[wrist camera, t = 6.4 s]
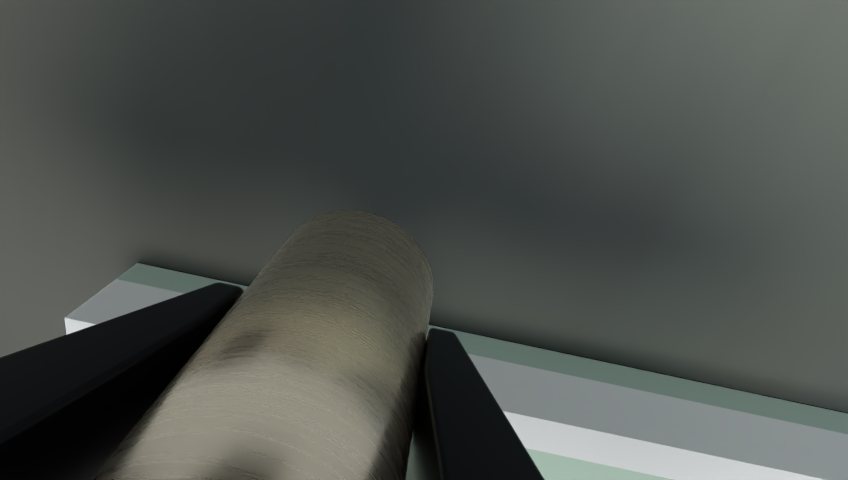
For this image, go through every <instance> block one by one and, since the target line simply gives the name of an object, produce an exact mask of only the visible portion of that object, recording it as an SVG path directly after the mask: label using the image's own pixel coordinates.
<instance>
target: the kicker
mask: <svg viewBox="0 0 848 480" xmlns="http://www.w3.org/2000/svg"><path fill="white" fill-rule="evenodd" d="M433 292H434V291H433V276H432V271H431V268H430V265H429V262H428V260H427V258H426V256H425V254H424V252H423V251H422V249H421V248H420V246H419V245H418V244H417V243H416V241H415V240H414V239H413V238H412V237H411V236H410V235H409V234H408V233H407V232H406V231H404V230H403V229H402V228H400V227H399V226H398V225H396V224H394V223H393V222H391V221H389V220H387V219H385V218H382V217H380V216H378V215H375V214H371V213H367V212H362V211H355V210H341V211H332V212H328V213H324V214H321V215H318V216H316V217H313V218H311V219H310V220H308V221H306V222H304V223H303V224H302V225H300V226H299V227H298V228H297V229H296V230H295V231H294V232H293V233H292V234H291V235H290V236H289V237H288V239H287V240H286V241H285V242H284V243H283V245H282V246H281V247H280V248H279V250H278V251H277V252H276V253H275V255H274V256H273V257H272V258H271V259H270V261H269V262H268V263H267V264H266V266H265V267H264V268H263V269H262V270H261V272H260V273H259V274H258V275H257V277H256V278H255V279H254V280H253V281H252V283H251V284H250V285H249V286H248V288H247V289H246V290H245V291H244V293H243V294H242V295H241V296H240V297H239V299H238V300H237V301H236V302H235V304H234V305H233V306H232V307H231V308H230V310H229V311H228V312H227V313H226V315H225V316H224V317H223V318H222V319H221V321H220V322H219V323H218V324H217V326H216V327H215V328H214V329H213V331H212V332H211V333H210V334H209V335H208V337H207V338H206V339H205V340H204V342H203V343H202V344H201V345H200V346H199V348H198V349H197V350H196V351H195V353H194V354H193V355H192V356H191V358H190V359H189V360H188V361H187V362H186V364H185V365H184V366H183V367H182V369H181V370H180V371H179V372H178V373H177V375H176V376H175V377H174V378H173V380H172V381H171V382H170V383H169V384H168V386H167V387H166V388H165V389H164V391H163V392H162V393H161V394H160V396H159V397H158V398H157V399H156V400H155V402H154V403H153V404H152V405H151V407H150V408H149V409H148V410H147V411H146V413H145V414H144V415H143V416H142V418H141V419H140V420H139V421H138V422H137V424H136V425H135V426H134V427H133V429H132V430H131V431H130V432H129V434H128V435H127V436H126V437H125V438H124V440H123V441H122V442H121V443H120V445H119V446H118V447H117V448H116V449H115V451H114V452H113V453H112V454H111V456H110V457H109V458H108V459H107V460H106V462H105V463H104V464H103V465H102V467H101V468H100V469H99V470H98V472H97V473H96V474H95V475H94V476H93V478H92V479H91V480H405V479H406V473H407V466H408V459H409V453H410V446H411V439H412V433H413V426H414V419H415V412H416V406H417V399H418V391H419V385H420V378H421V372H422V365H423V358H424V352H425V345H426V339H427V332H428V325H429V319H430V312H431V305H432V299H433Z"/></svg>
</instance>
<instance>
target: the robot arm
mask: <svg viewBox="0 0 848 480" xmlns="http://www.w3.org/2000/svg"><path fill="white" fill-rule="evenodd" d="M243 293H244V290H243V289H242V288H241V287H239V286H235V285H230V284H226V283H221V282H217V283H214V284H211V285H208V286H205V287H202V288H199V289H197V290H194V291H191V292H188V293H185V294H182V295H179V296H176V297H173V298H171V299H168V300H165V301H162V302H159V303H156V304H153V305H150V306H148V307H145V308H142V309H139V310H136V311H133V312H130V313H127V314H125V315H122V316H119V317H116V318H113V319H110V320H107V321H104V322H101V323H99V324H96V325H93V326H90V327H87V328H84V329H81V330H78V331H76V332H73V333H70V334H67V335H64V336H61V337H58V338H55V339H52V340H50V341H47V342H44V343H41V344H38V345H35V346H32V347H29V348H27V349H24V350H21V351H18V352H15V353H12V354H9V355H6V356H3V357H1V358H0V480H91V479H92V478H93V476H94V475H95V474H96V473H97V472H98V470H99V469H100V468H101V467H102V465H103V464H104V463H105V462H106V460H107V459H108V458H109V457H110V456H111V454H112V453H113V452H114V451H115V449H116V448H117V447H118V446H119V445H120V443H121V442H122V441H123V440H124V438H125V437H126V436H127V435H128V434H129V432H130V431H131V430H132V429H133V427H134V426H135V425H136V424H137V422H138V421H139V420H140V419H141V418H142V416H143V415H144V414H145V413H146V411H147V410H148V409H149V408H150V407H151V405H152V404H153V403H154V402H155V400H156V399H157V398H158V397H159V396H160V394H161V393H162V392H163V391H164V389H165V388H166V387H167V386H168V384H169V383H170V382H171V381H172V380H173V378H174V377H175V376H176V375H177V373H178V372H179V371H180V370H181V369H182V367H183V366H184V365H185V364H186V362H187V361H188V360H189V359H190V358H191V356H192V355H193V354H194V353H195V351H196V350H197V349H198V348H199V346H200V345H201V344H202V343H203V342H204V340H205V339H206V338H207V337H208V335H209V334H210V333H211V332H212V331H213V329H214V328H215V327H216V326H217V324H218V323H219V322H220V321H221V319H222V318H223V317H224V316H225V315H226V313H227V312H228V311H229V310H230V308H231V307H232V306H233V305H234V304H235V302H236V301H237V300H238V299H239V297H240V296H241V295H242V294H243ZM405 480H545V479H544V478H543V476H542V475H541V473H540V471H539V470H538V468H537V466H536V465H535V463H534V461H533V460H532V458H531V457H530V455H529V453H528V452H527V450H526V448H525V447H524V445H523V443H522V442H521V440H520V439H519V437H518V435H517V434H516V432H515V430H514V429H513V427H512V425H511V424H510V422H509V421H508V419H507V417H506V416H505V414H504V412H503V411H502V409H501V407H500V406H499V404H498V403H497V401H496V399H495V398H494V396H493V394H492V393H491V391H490V390H489V388H488V386H487V385H486V383H485V381H484V380H483V378H482V376H481V375H480V373H479V372H478V370H477V368H476V367H475V365H474V363H473V362H472V360H471V358H470V357H469V355H468V354H467V352H466V350H465V349H464V347H463V345H462V344H461V342H460V340H459V339H458V337H457V336H456V334H455V333H454V332H451V331H447V330H442V329H437V328H431V329H430V330H429V332H428V335H427V339H426V345H425V352H424V358H423V365H422V372H421V378H420V385H419V391H418V399H417V406H416V412H415V419H414V426H413V433H412V439H411V446H410V453H409V459H408V466H407V473H406V479H405Z"/></svg>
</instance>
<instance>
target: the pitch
mask: <svg viewBox="0 0 848 480" xmlns="http://www.w3.org/2000/svg"><path fill="white" fill-rule="evenodd" d="M217 282H221V283H226V284H230V285H235V286H239V287H241V288H242V289H243V290H244V291H245V290H246V289H247V288H248V286H243V285H239V284H234V283H229V282H225V281H220V280H215V279H210V278H206V277H201V276H196V275H192V274H187V273H182V272H177V271H173V270H168V269H163V268H159V267H154V266H149V265H144V264H140V263H136V264H135V265H134V266H132V267H131V268H130V269H128V270H127V271H126V272H124V273H123V274H122V275H120V276H119V277H118V278H116V279H115V280H114V281H112V282H111V283H110V284H108V285H107V286H106V287H104V288H103V289H102V290H100V291H99V292H98V293H97V294H95V295H94V296H93V297H91V298H90V299H89V300H87V301H86V302H85V303H83V304H82V305H81V306H79V307H78V308H77V309H75V310H74V311H73V312H71V313H70V314H69V315H67V316H66V317H65V326H66V335H67V334H70V333H73V332H76V331H78V330H81V329H84V328H87V327H90V326H93V325H96V324H99V323H101V322H104V321H107V320H110V319H113V318H116V317H119V316H122V315H125V314H127V313H130V312H133V311H136V310H139V309H142V308H145V307H148V306H150V305H153V304H156V303H159V302H162V301H165V300H168V299H171V298H173V297H176V296H179V295H182V294H185V293H188V292H191V291H194V290H197V289H199V288H202V287H205V286H208V285H211V284H214V283H217ZM431 328H437V329H442V330H447V331H451V332H454V333H455V334H456V336H457V337H458V339H459V340H460V342H461V344H462V345H463V347H464V349H465V350H466V352H467V354H468V355H469V357H470V358H471V360H472V362H473V363H474V365H475V367H476V368H477V370H478V372H479V373H480V375H481V376H482V378H483V380H484V381H485V383H486V385H487V386H488V388H489V390H490V391H491V393H492V394H493V396H494V398H495V399H496V401H497V403H498V404H499V406H500V407H501V409H502V411H503V412H504V414H505V416H506V417H507V419H508V421H509V422H510V424H511V425H512V427H513V429H514V430H515V432H516V434H517V435H518V437H519V439H520V440H521V442H522V443H523V445H524V447H525V448H526V450H527V452H528V453H529V455H530V457H531V458H532V460H533V461H534V463H535V465H536V466H537V468H538V470H539V471H540V473H541V475H542V476H543V478H544V479H545V480H848V414H847V413H842V412H838V411H833V410H828V409H823V408H819V407H814V406H809V405H805V404H800V403H795V402H790V401H786V400H781V399H776V398H772V397H767V396H762V395H757V394H753V393H748V392H743V391H739V390H734V389H729V388H724V387H720V386H715V385H710V384H706V383H701V382H696V381H691V380H687V379H682V378H677V377H673V376H668V375H663V374H658V373H654V372H649V371H644V370H640V369H635V368H630V367H625V366H621V365H616V364H611V363H607V362H602V361H597V360H592V359H588V358H583V357H578V356H574V355H569V354H564V353H559V352H555V351H550V350H545V349H541V348H536V347H531V346H526V345H522V344H517V343H512V342H508V341H503V340H498V339H493V338H489V337H484V336H479V335H475V334H470V333H465V332H460V331H456V330H451V329H446V328H442V327H437V326H432V325H428V332H429V330H430V329H431ZM428 332H427V335H428Z"/></svg>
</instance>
